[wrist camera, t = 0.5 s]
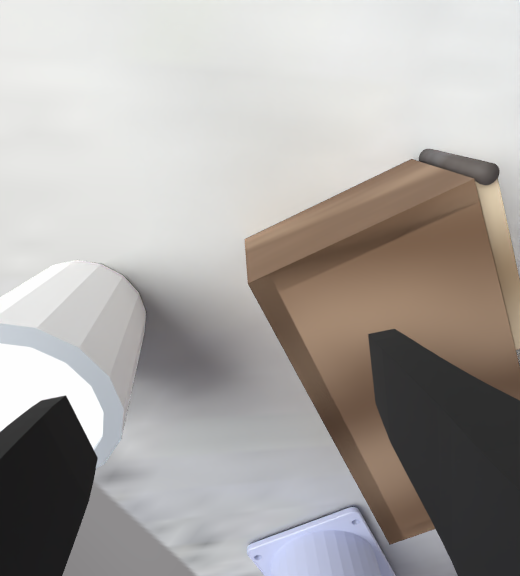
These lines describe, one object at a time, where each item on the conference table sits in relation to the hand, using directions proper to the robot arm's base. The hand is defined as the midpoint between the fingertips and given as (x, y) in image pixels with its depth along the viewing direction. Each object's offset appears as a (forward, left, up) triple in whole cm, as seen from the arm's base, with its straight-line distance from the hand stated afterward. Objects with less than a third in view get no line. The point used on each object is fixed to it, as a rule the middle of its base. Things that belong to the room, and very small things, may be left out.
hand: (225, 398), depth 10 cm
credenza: (-8, -5, -10) cm, 14 cm away
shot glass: (0, +8, -10) cm, 13 cm away
